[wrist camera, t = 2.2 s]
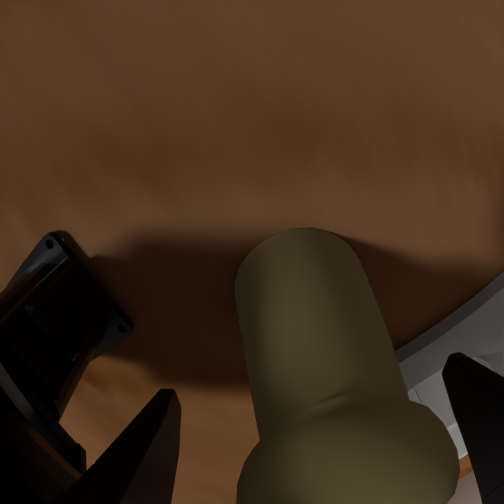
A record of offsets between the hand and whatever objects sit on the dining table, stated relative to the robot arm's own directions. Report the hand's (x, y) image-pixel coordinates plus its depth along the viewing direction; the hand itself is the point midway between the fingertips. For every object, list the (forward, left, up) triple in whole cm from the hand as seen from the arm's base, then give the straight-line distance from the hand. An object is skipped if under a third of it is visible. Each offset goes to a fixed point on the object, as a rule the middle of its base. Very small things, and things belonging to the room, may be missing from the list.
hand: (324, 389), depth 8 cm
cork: (0, 0, -6) cm, 6 cm away
